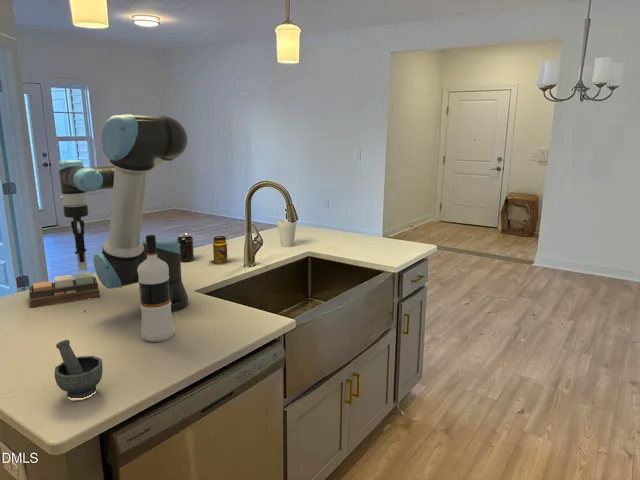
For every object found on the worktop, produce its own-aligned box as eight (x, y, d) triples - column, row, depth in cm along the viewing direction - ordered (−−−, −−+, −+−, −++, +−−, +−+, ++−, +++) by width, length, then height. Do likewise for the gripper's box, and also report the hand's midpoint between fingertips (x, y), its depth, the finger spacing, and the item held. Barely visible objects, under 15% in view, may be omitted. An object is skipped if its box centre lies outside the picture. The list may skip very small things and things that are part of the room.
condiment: (228, 264, 208) (226, 238, 205) (208, 265, 206) (207, 238, 204) (228, 260, 215) (227, 234, 212) (209, 260, 214) (208, 235, 211)
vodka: (166, 344, 131) (158, 239, 124) (135, 342, 132) (125, 238, 125) (180, 330, 140) (173, 232, 133) (151, 328, 141) (142, 231, 134)
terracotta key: (52, 293, 162) (51, 285, 162) (34, 296, 160) (33, 288, 159) (52, 288, 167) (51, 280, 167) (34, 290, 165) (33, 283, 164)
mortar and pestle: (114, 389, 108) (109, 341, 105) (76, 410, 100) (70, 358, 97) (83, 377, 113) (77, 331, 111) (45, 396, 105) (38, 346, 103)
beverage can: (196, 258, 217) (194, 233, 214) (190, 262, 210) (189, 236, 207) (181, 258, 217) (180, 233, 215) (176, 262, 211) (174, 236, 208)
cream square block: (73, 286, 165) (72, 278, 165) (55, 289, 162) (54, 281, 162) (72, 281, 170) (71, 274, 170) (54, 284, 168) (54, 276, 167)
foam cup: (274, 246, 240) (274, 221, 237) (283, 242, 248) (282, 218, 245) (291, 248, 236) (291, 223, 233) (299, 244, 244) (299, 219, 241)
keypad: (99, 297, 167) (98, 284, 166) (31, 307, 157) (29, 295, 156) (95, 286, 178) (94, 275, 177) (31, 296, 168) (29, 284, 167)
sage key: (93, 283, 168) (92, 276, 168) (76, 286, 166) (75, 278, 165) (92, 279, 173) (91, 271, 173) (75, 281, 171) (74, 274, 170)
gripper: (62, 203, 167) (69, 266, 172) (64, 208, 156) (72, 276, 161) (85, 201, 170) (92, 264, 176) (89, 206, 159) (96, 273, 165)
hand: (82, 270), depth 168 cm, fingers closed
